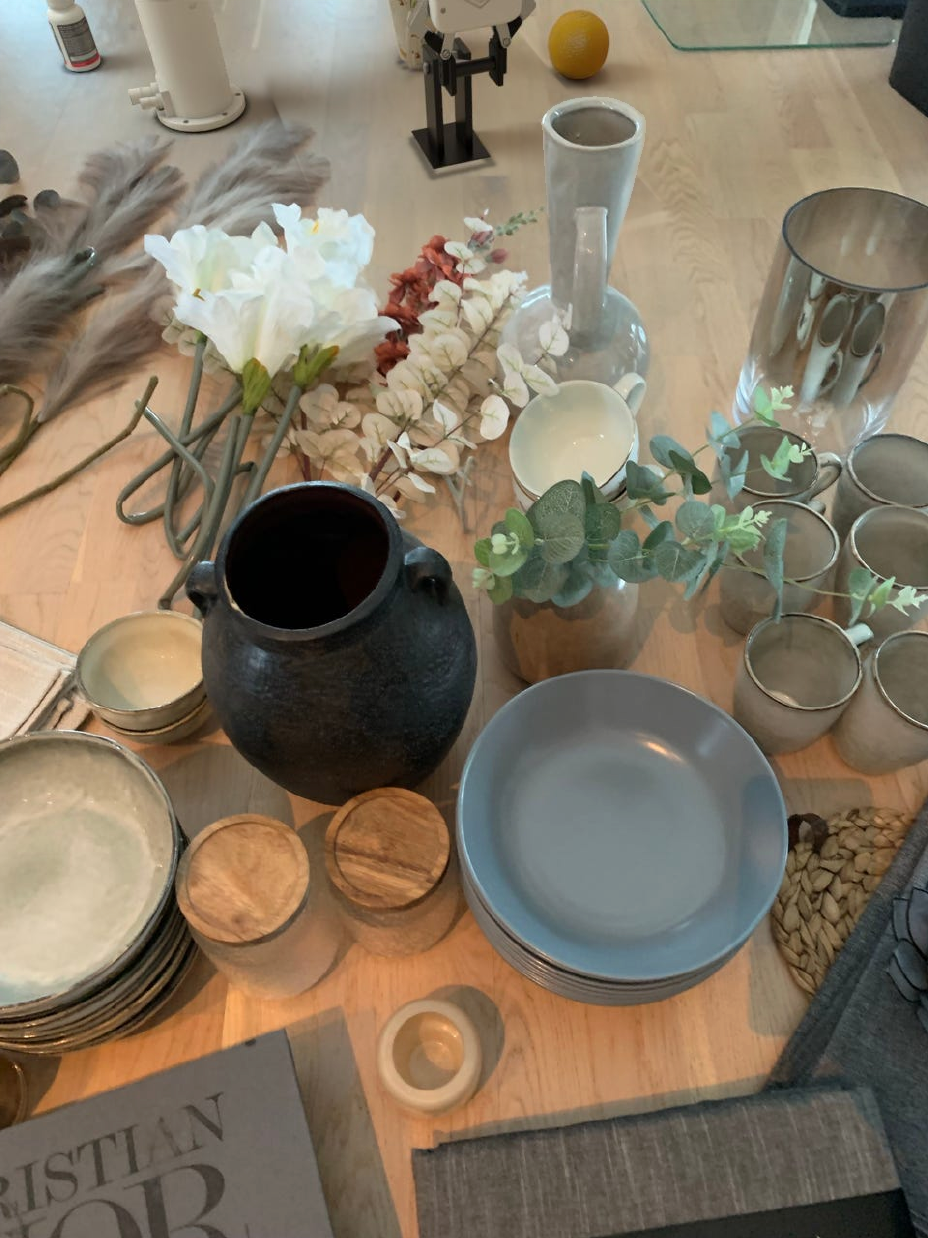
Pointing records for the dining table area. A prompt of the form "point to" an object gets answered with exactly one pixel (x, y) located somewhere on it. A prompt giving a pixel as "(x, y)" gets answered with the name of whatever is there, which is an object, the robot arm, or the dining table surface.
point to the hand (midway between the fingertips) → (473, 84)
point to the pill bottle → (72, 35)
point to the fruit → (578, 44)
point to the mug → (407, 31)
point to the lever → (473, 65)
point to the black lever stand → (442, 139)
